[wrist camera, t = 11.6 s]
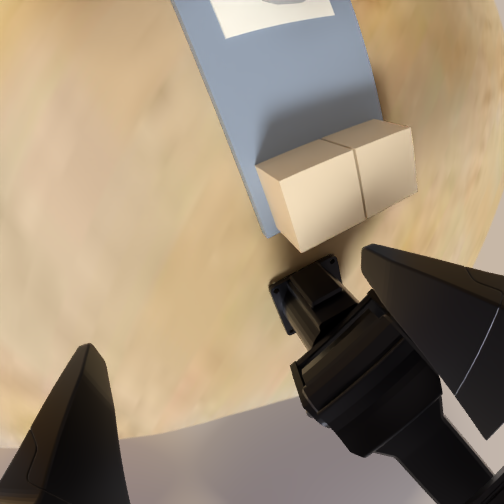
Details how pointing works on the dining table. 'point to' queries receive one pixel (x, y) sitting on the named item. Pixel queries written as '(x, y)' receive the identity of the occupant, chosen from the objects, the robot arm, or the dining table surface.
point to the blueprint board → (300, 113)
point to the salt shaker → (284, 1)
